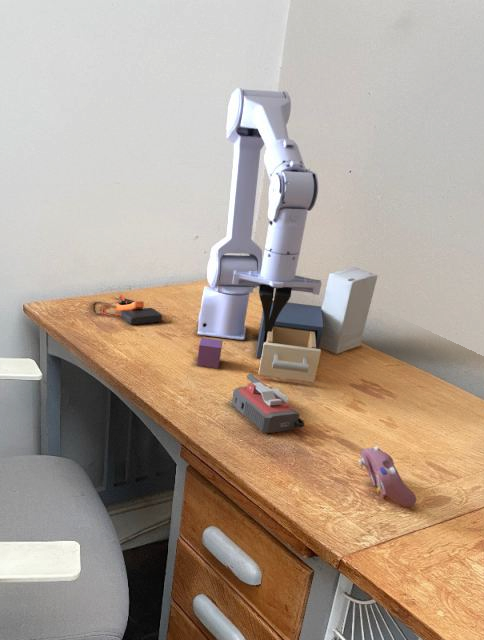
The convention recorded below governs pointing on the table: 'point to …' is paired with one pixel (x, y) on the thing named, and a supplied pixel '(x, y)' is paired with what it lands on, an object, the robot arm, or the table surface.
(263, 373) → the drawer
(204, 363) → the block
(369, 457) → the video game controller
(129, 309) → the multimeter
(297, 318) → the cabinet
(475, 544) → the table surface
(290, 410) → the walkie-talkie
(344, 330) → the cosmetic box
